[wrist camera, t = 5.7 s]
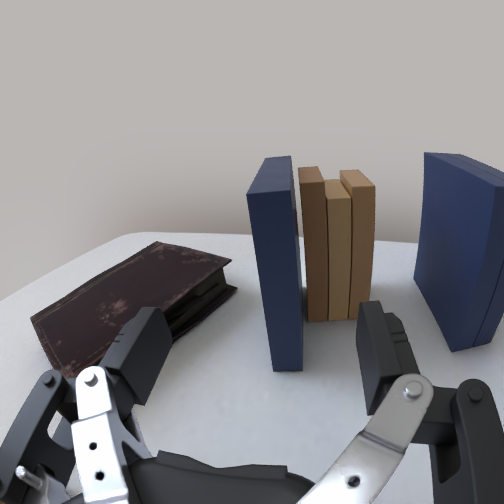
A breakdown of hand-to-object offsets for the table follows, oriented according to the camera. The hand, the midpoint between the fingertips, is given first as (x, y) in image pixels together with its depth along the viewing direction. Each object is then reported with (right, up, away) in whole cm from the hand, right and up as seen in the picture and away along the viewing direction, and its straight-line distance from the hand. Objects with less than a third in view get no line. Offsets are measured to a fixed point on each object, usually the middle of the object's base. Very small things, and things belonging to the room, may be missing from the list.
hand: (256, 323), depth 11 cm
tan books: (+10, -3, +22) cm, 25 cm away
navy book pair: (+24, -4, +17) cm, 29 cm away
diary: (-16, -7, +24) cm, 30 cm away
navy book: (+4, -5, +20) cm, 21 cm away
